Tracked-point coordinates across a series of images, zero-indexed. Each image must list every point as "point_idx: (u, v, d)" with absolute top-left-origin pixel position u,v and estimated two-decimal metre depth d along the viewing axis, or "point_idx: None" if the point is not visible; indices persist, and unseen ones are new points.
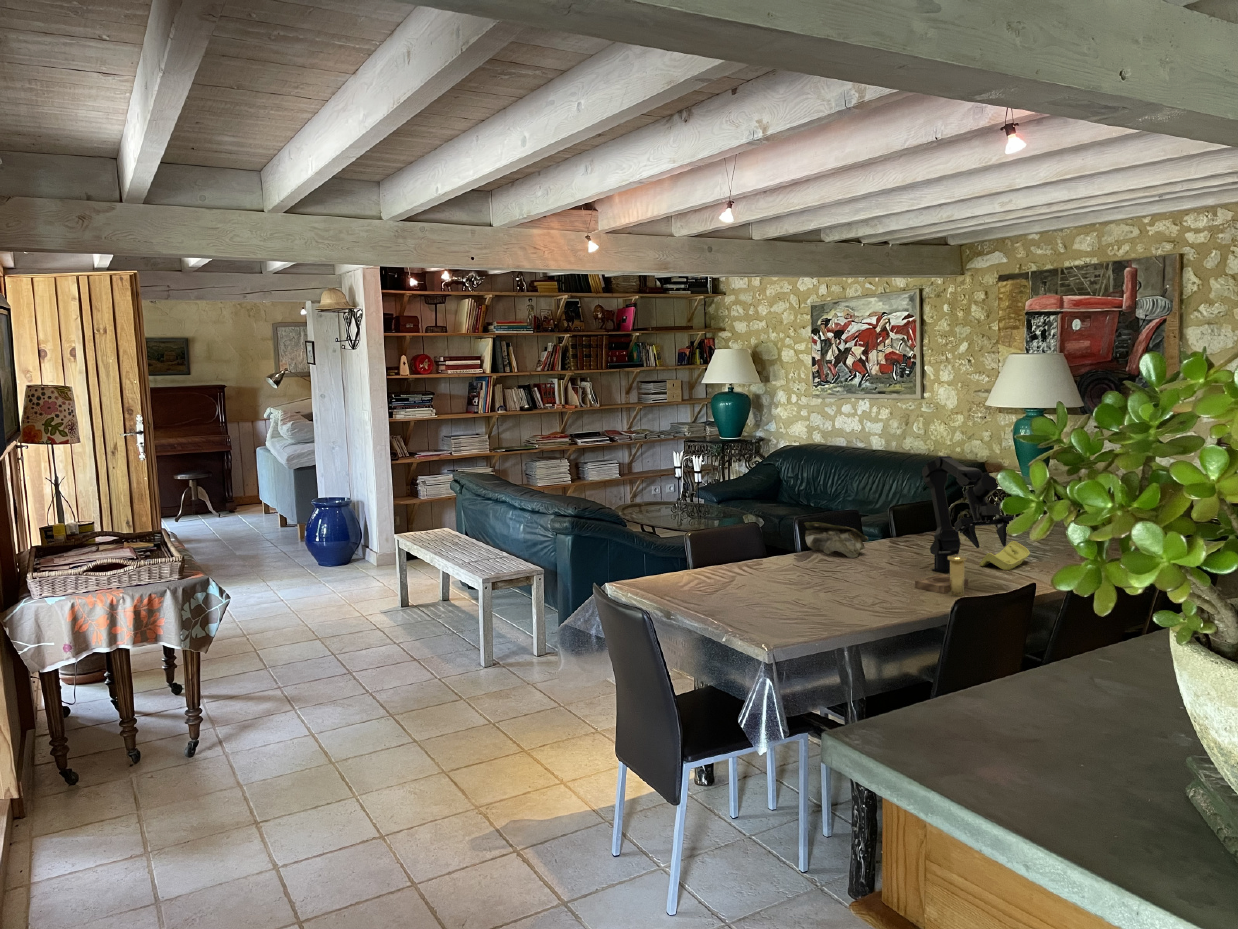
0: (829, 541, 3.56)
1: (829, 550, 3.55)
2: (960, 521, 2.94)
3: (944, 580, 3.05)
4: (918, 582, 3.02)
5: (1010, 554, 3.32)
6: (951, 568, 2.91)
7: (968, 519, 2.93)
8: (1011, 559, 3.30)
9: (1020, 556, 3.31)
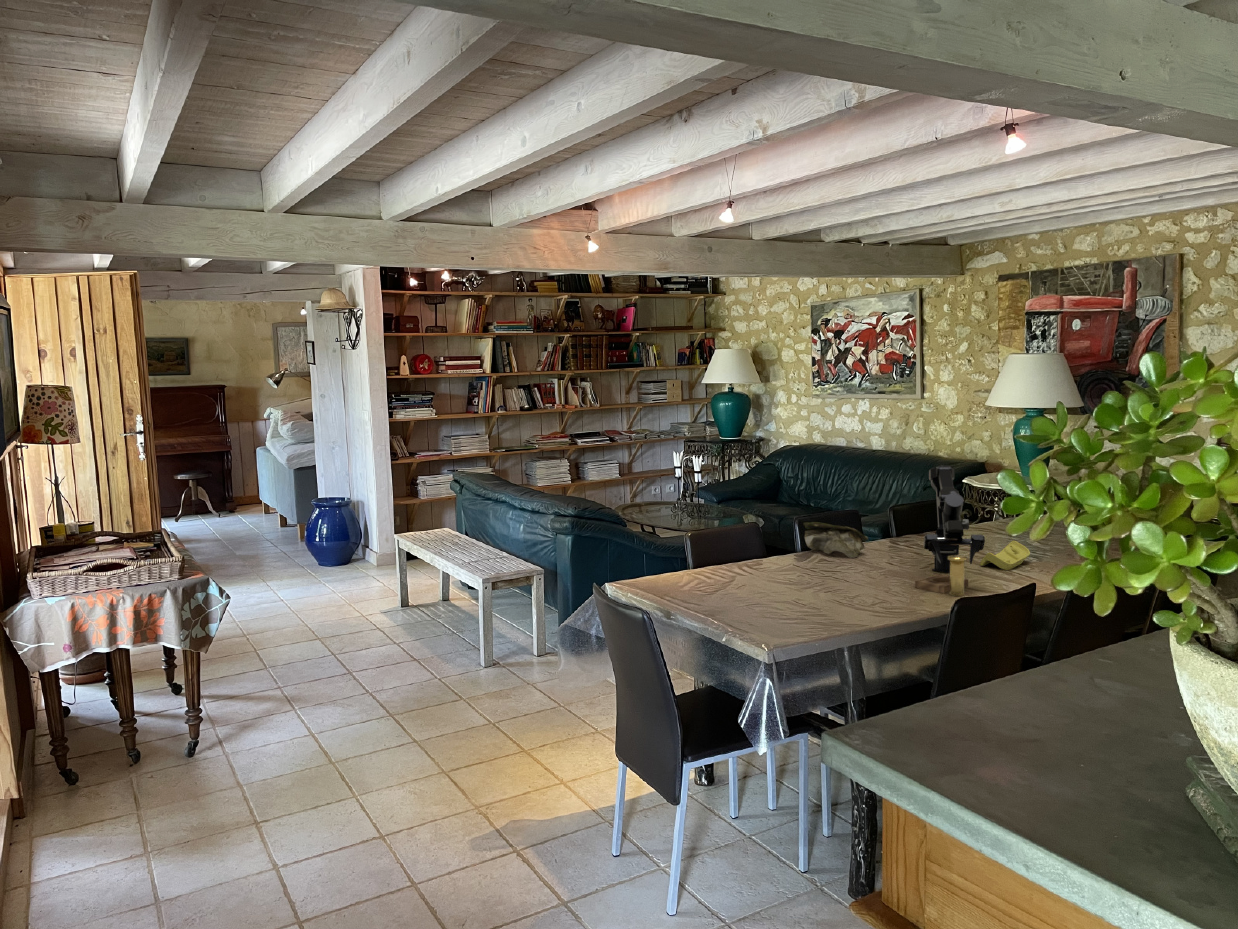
0: (829, 541, 3.56)
1: (829, 550, 3.55)
2: (924, 537, 3.00)
3: (944, 580, 3.05)
4: (918, 582, 3.02)
5: (1010, 554, 3.32)
6: (951, 568, 2.91)
7: (932, 535, 2.99)
8: (1011, 559, 3.30)
9: (1020, 556, 3.31)
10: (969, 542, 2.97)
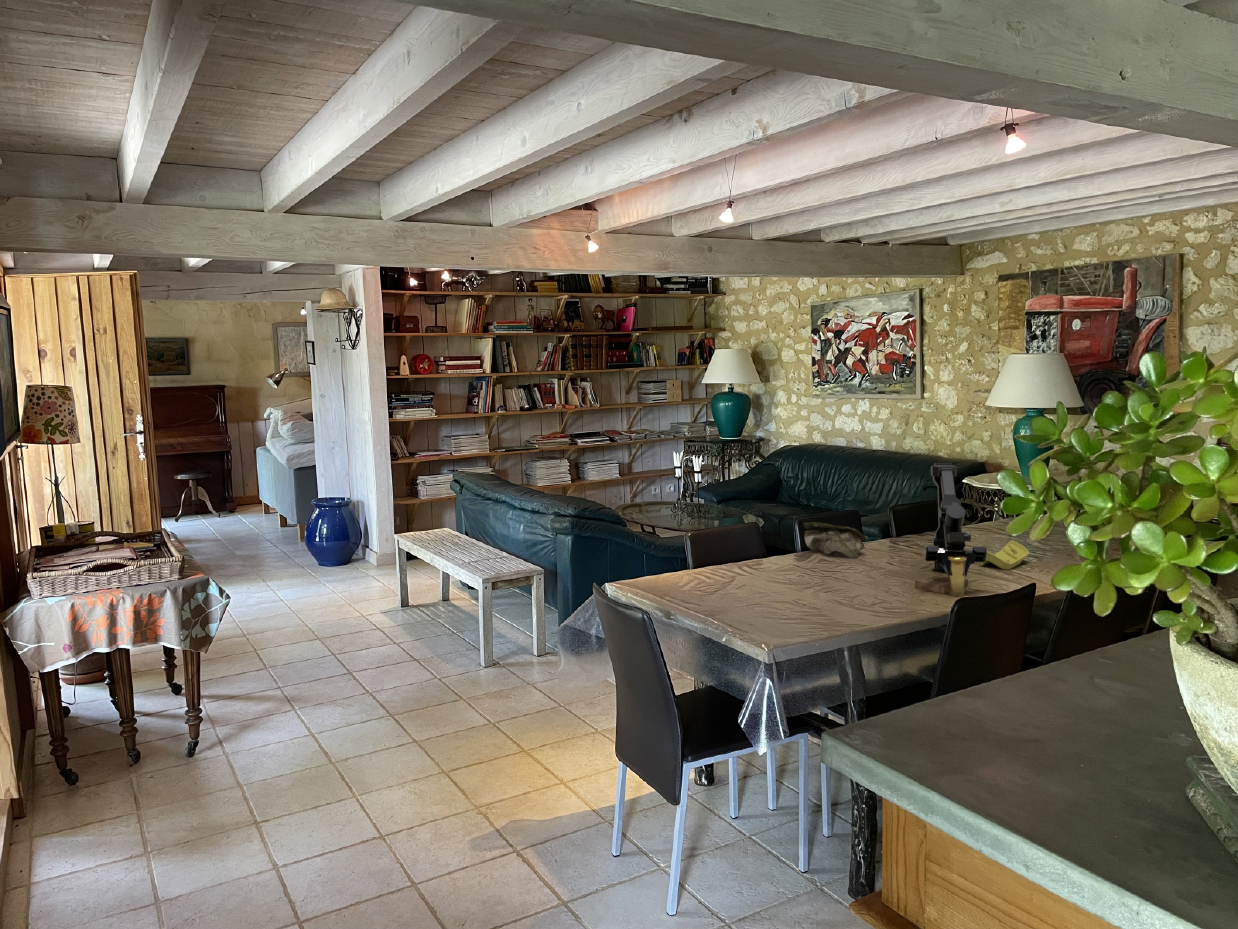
0: (829, 541, 3.56)
1: (829, 550, 3.55)
2: (926, 549, 2.96)
3: (944, 580, 3.05)
4: (918, 582, 3.02)
5: (1009, 554, 3.32)
6: (951, 568, 2.91)
7: (934, 547, 2.95)
8: (1010, 559, 3.31)
9: (1019, 556, 3.32)
10: None
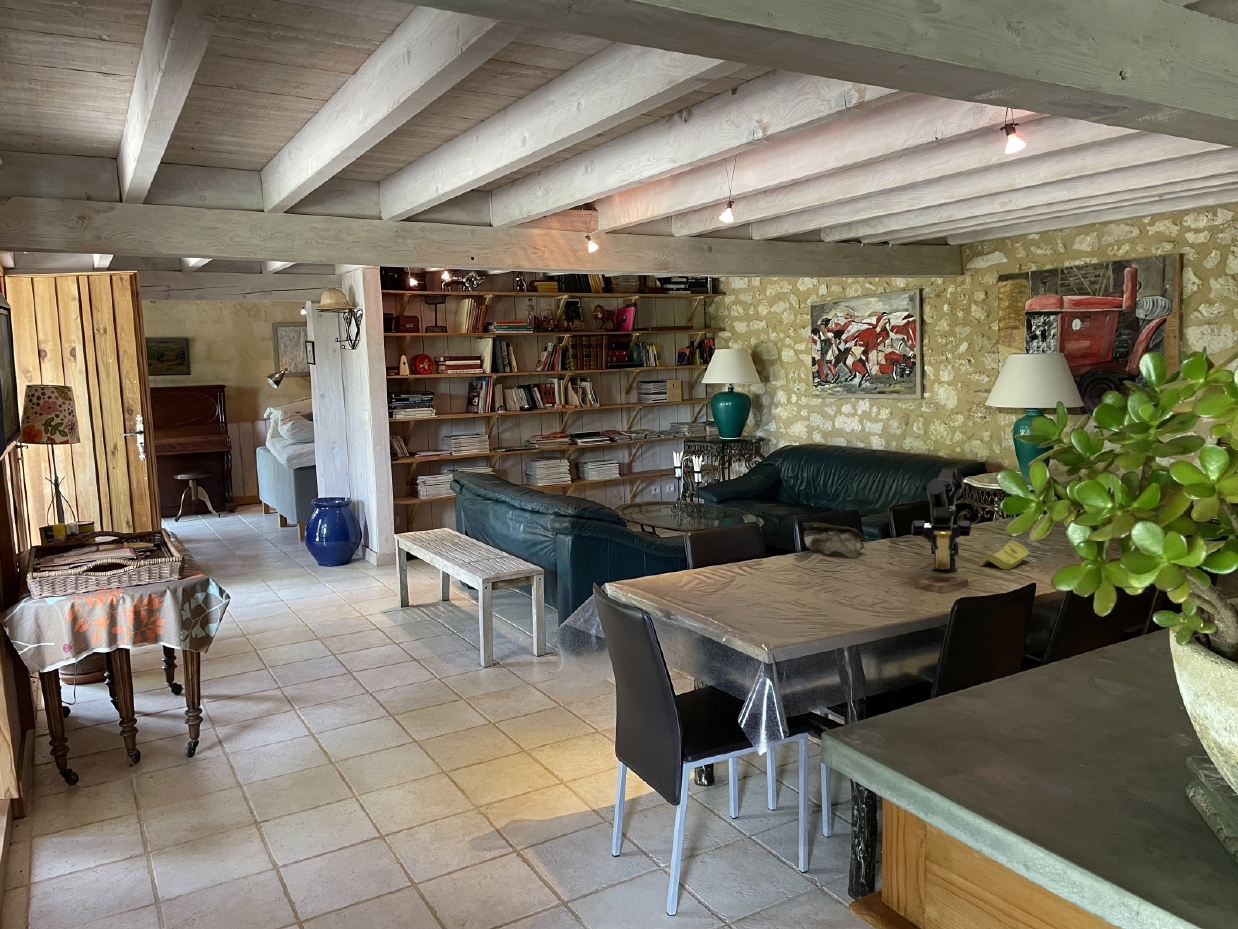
0: (829, 541, 3.56)
1: (829, 550, 3.55)
2: (912, 523, 3.05)
3: (944, 580, 3.05)
4: (918, 582, 3.02)
5: (1009, 553, 3.33)
6: (937, 542, 3.00)
7: (920, 522, 3.04)
8: (1010, 558, 3.31)
9: (1019, 555, 3.32)
10: None
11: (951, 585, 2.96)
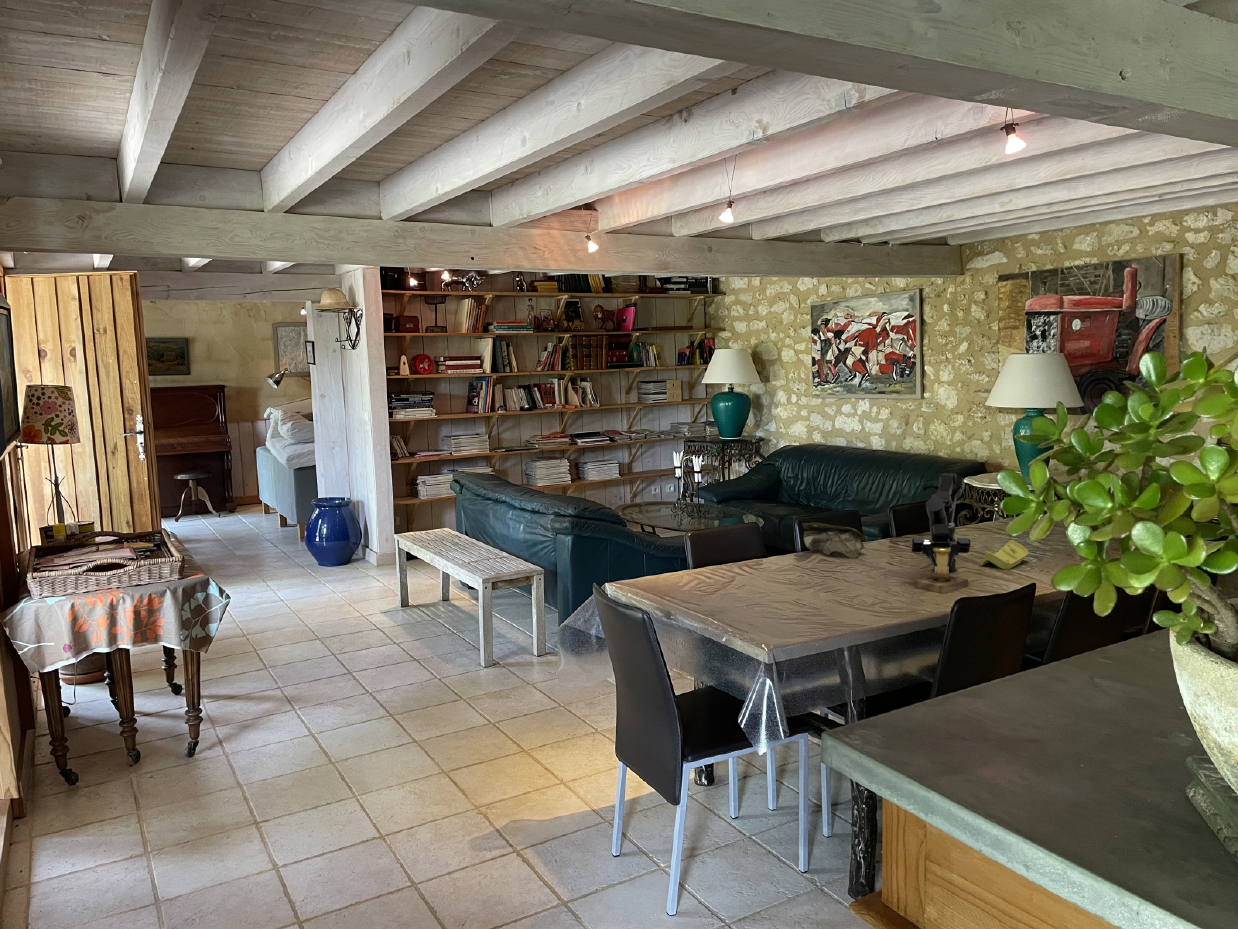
0: (829, 541, 3.55)
1: (829, 550, 3.54)
2: (912, 540, 3.06)
3: None
4: (918, 582, 3.02)
5: (1009, 553, 3.33)
6: (936, 559, 3.01)
7: (919, 538, 3.05)
8: (1010, 558, 3.31)
9: (1019, 555, 3.32)
10: None
11: (951, 585, 2.96)
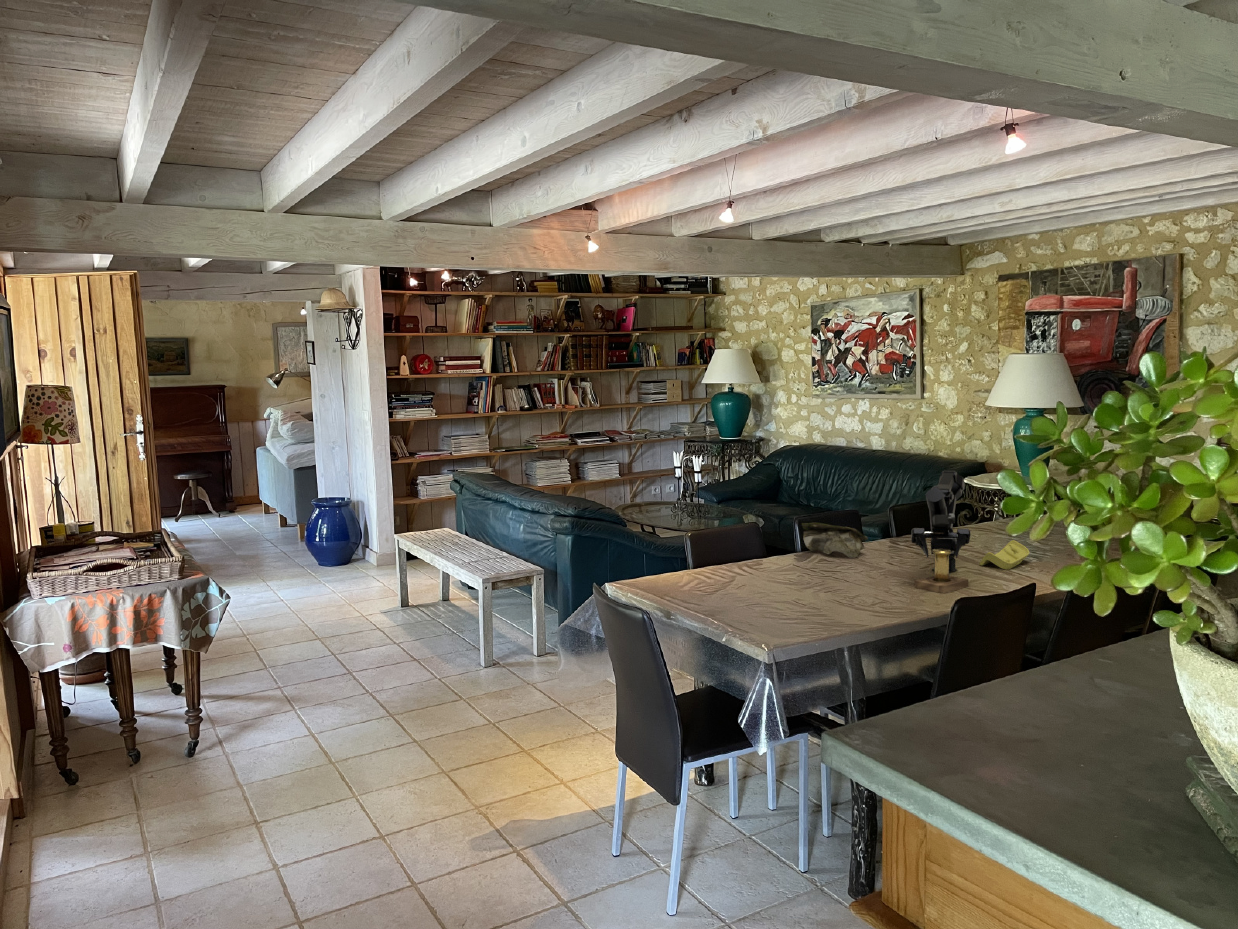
0: (829, 541, 3.55)
1: (829, 550, 3.54)
2: (912, 531, 3.06)
3: None
4: (918, 582, 3.02)
5: (1010, 553, 3.33)
6: (936, 561, 3.01)
7: (919, 529, 3.05)
8: (1011, 558, 3.31)
9: (1020, 555, 3.32)
10: (955, 536, 3.03)
11: (951, 585, 2.96)
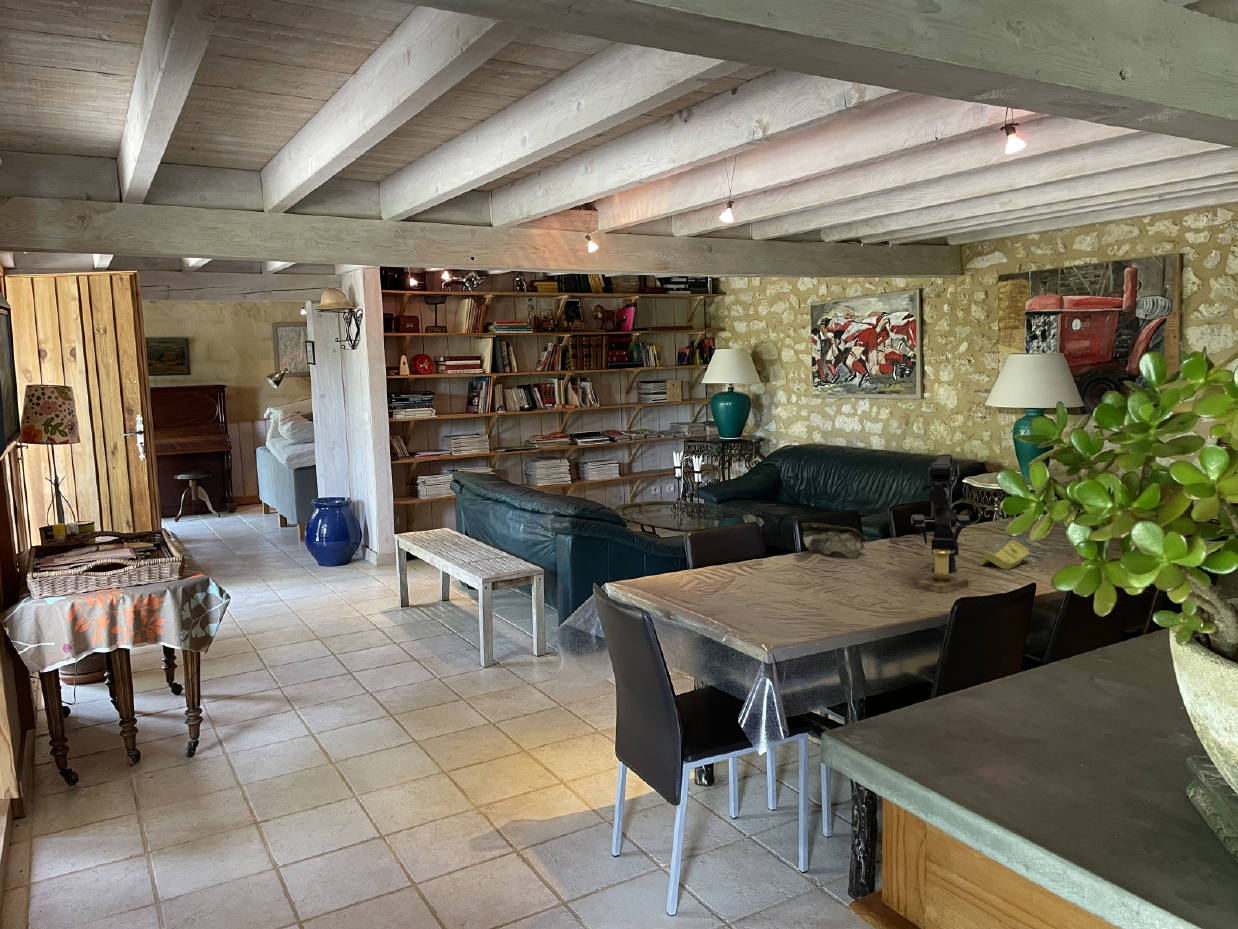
0: (829, 542, 3.55)
1: (829, 551, 3.54)
2: (912, 520, 3.07)
3: None
4: (918, 582, 3.02)
5: (1009, 553, 3.33)
6: (936, 561, 3.01)
7: (920, 520, 3.06)
8: (1011, 558, 3.32)
9: (1019, 555, 3.32)
10: (955, 521, 3.05)
11: (951, 585, 2.96)
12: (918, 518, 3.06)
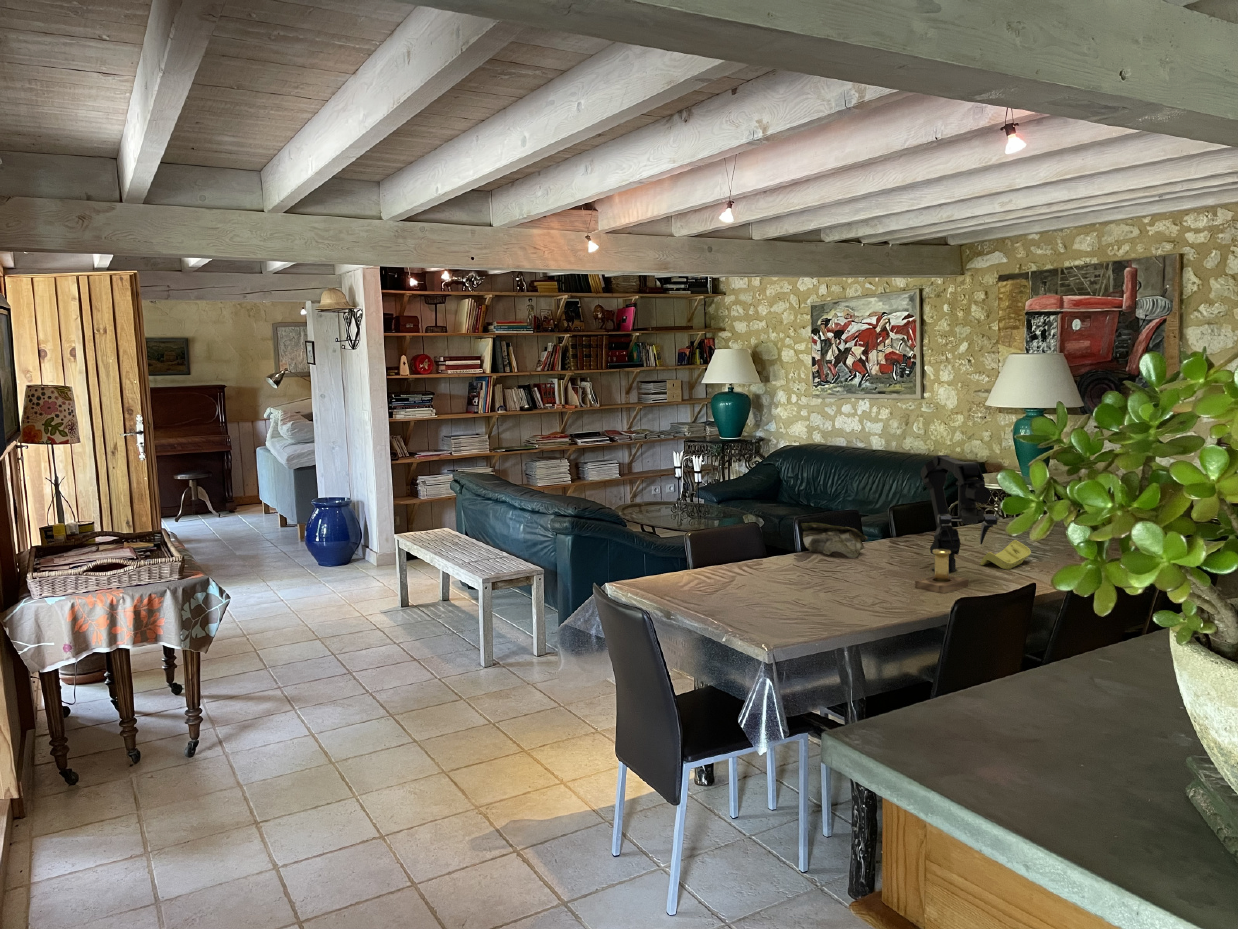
0: (829, 542, 3.55)
1: (829, 551, 3.54)
2: (939, 519, 3.07)
3: None
4: (918, 582, 3.02)
5: (1011, 553, 3.33)
6: (936, 561, 3.01)
7: (946, 519, 3.06)
8: (1012, 558, 3.31)
9: (1021, 555, 3.32)
10: (982, 521, 3.06)
11: (951, 585, 2.96)
12: (945, 517, 3.06)
